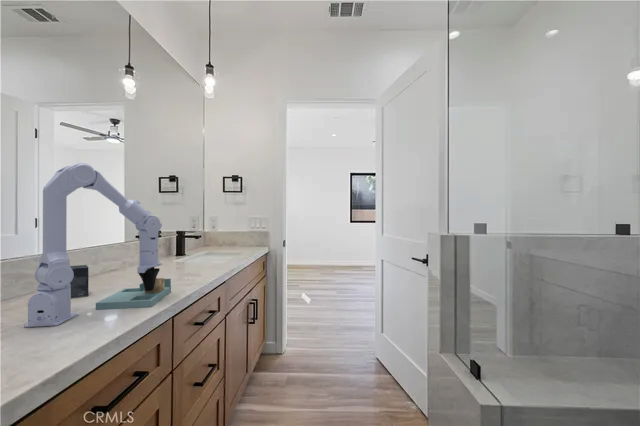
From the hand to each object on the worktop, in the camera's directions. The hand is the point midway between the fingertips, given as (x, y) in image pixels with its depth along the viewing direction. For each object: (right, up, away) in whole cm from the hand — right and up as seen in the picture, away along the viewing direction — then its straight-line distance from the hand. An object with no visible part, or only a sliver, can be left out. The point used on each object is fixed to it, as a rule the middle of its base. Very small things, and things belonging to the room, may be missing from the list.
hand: (149, 290), depth 111 cm
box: (-29, -4, +7) cm, 30 cm away
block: (0, -1, +4) cm, 4 cm away
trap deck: (-4, -3, 0) cm, 5 cm away
